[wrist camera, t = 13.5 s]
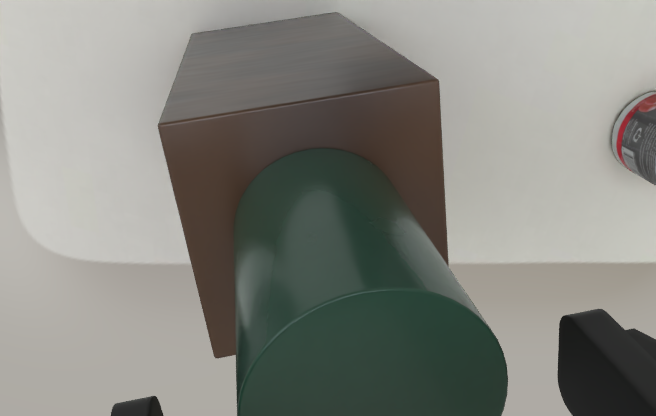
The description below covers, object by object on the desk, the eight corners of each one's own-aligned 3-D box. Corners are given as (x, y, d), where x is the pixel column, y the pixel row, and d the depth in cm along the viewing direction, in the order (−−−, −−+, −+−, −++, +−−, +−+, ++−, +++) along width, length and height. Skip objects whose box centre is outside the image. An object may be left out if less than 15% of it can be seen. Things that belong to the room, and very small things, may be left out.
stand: (220, 172, 37) (214, 360, 20) (191, 33, 33) (156, 124, 17) (353, 149, 37) (451, 313, 21) (337, 11, 34) (439, 79, 18)
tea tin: (249, 316, 20) (263, 534, 13) (217, 163, 18) (211, 319, 10) (408, 286, 20) (509, 479, 13) (396, 133, 18) (508, 263, 11)
